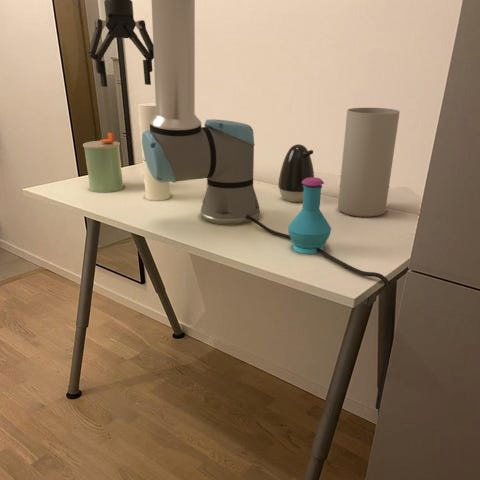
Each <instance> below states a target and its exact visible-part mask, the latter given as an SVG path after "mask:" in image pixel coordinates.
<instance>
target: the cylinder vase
mask: <svg viewBox="0 0 480 480" xmlns="http://www.w3.org/2000/svg"><path fill="white" fill-rule="evenodd" d="M400 113H401V111H400V110H398V109H396V108H395V109H393V108H386V107H353V108H348V109H346V118H345V130H344V139H343V141H344V142H343V148H342V158H341V160H342V161H341V169H340V179H339V180H340V181H339V191H338V202H337V209H338V211H340V212H341V213H343V214H345V215H347V216H351V217H358V218H373V217H378V216H381V215H383V214H384V213H385V212H386V210H387V203H388V196H389V191H390V190H389V189H390V183H391V175H392V169H393V162H394V161H393V160H394V154H395V147H396V140H397V133H398V128H399V127H398V126H399V118H400Z"/></svg>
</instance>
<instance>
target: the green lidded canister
mask: <svg viewBox="0 0 480 480" xmlns="http://www.w3.org/2000/svg"><path fill="white" fill-rule="evenodd" d="M120 143H121V142H119V141H117V140H115V142H110V143H104V142H101V141H100V140H93V141H92V140H91V141H86V142H84V143H82V147H83V148H84V154H85V155H84V156H85V162H86V170H87V175H88V176H87V177H88V183H89V190H90V191H92V192H95V193H113V192H118V191H121V190H123V189H124V180H123V172H122V171H123V170H122V162H121V153H120V152H121V151H120Z"/></svg>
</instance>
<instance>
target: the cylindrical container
mask: <svg viewBox="0 0 480 480" xmlns="http://www.w3.org/2000/svg"><path fill="white" fill-rule="evenodd" d="M137 113H138V114H137V115H138V125H139V137H140V147H141V148H140V149H141V156H142V157H141V158H142V169H143V170H142V171H143V180H144V192H145V193H144V194H145V199H146V200H150V201H166V200H168V199H171V182H158V181H156V180H155V179H154V178H153V176H152V175H151V173H150V171H149V168H148V166H147V163H146V160H145V156H144V152H143V146H142V134H143V132H144V131H146V130H150V119H151V118H152V117H153V116H154V115H155V113H156V102H143V103H138V104H137Z"/></svg>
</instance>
